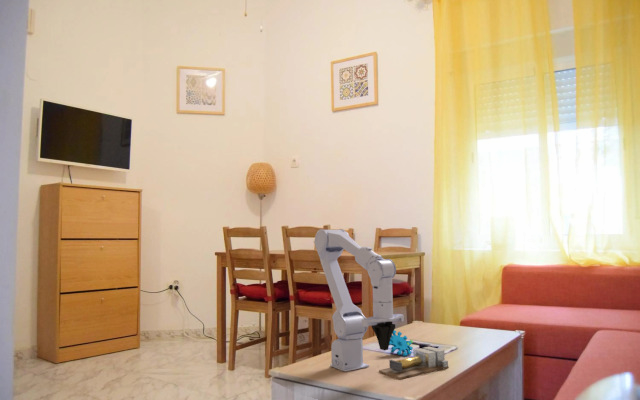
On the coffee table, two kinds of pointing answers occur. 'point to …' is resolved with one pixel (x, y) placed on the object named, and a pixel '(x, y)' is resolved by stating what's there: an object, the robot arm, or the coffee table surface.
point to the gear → (400, 344)
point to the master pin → (405, 363)
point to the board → (410, 371)
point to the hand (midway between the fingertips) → (384, 349)
